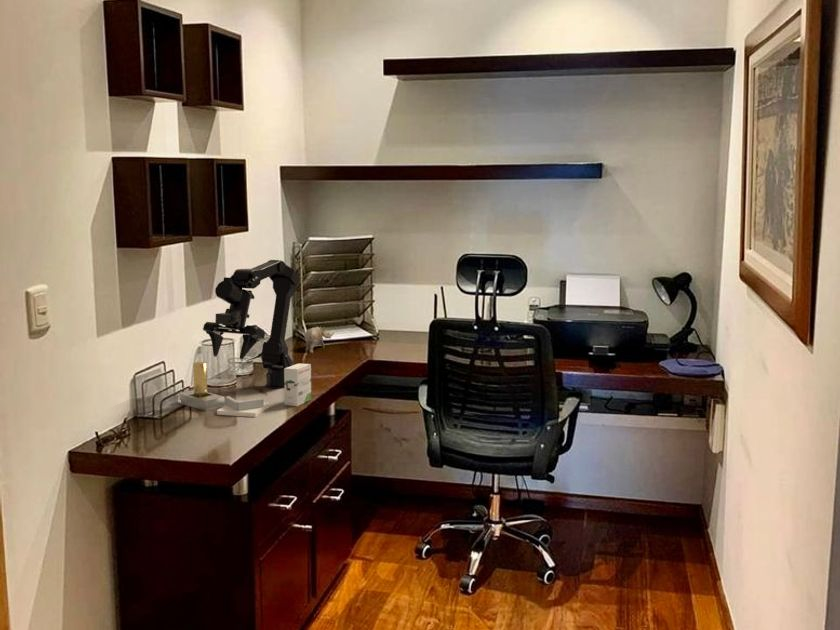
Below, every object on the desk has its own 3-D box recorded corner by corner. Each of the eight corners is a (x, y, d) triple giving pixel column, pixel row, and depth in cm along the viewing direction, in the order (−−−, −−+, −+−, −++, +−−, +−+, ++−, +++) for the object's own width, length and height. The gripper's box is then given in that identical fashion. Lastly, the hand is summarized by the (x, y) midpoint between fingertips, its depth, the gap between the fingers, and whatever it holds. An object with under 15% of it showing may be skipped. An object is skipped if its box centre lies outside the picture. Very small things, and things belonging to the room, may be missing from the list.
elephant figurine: (293, 346, 338) (306, 314, 344) (305, 360, 350) (318, 329, 355) (309, 350, 335) (323, 317, 341) (322, 364, 347) (334, 332, 352)
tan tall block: (204, 402, 261) (203, 361, 259) (210, 404, 258) (209, 363, 256) (192, 404, 258) (190, 363, 256) (197, 406, 255) (196, 365, 253)
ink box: (298, 398, 267) (298, 362, 265) (312, 400, 265) (311, 363, 263) (283, 404, 259) (283, 367, 258) (297, 406, 257) (296, 369, 256)
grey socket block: (177, 402, 260) (177, 393, 259) (196, 398, 265) (196, 389, 265) (205, 410, 251) (205, 401, 251) (224, 406, 257) (224, 396, 256)
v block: (232, 404, 259) (231, 392, 258) (269, 406, 257) (269, 394, 257) (216, 414, 247) (216, 402, 247) (255, 416, 245) (255, 404, 245)
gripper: (198, 298, 253) (186, 348, 249) (252, 302, 246) (241, 353, 242) (218, 309, 263) (207, 357, 259) (270, 313, 256) (259, 362, 252)
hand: (227, 357), depth 253 cm, fingers open, 9 cm apart
